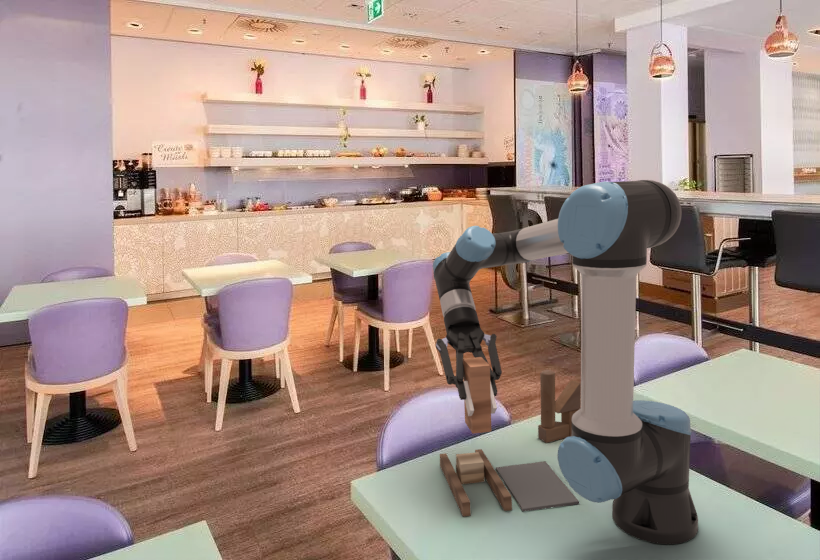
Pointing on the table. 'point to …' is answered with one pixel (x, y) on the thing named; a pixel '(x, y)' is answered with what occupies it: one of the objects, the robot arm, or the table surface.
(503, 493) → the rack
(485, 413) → the tall board
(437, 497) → the table surface
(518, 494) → the mat
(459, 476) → the offcut lower
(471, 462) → the offcut upper
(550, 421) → the brown wooden forked piece
